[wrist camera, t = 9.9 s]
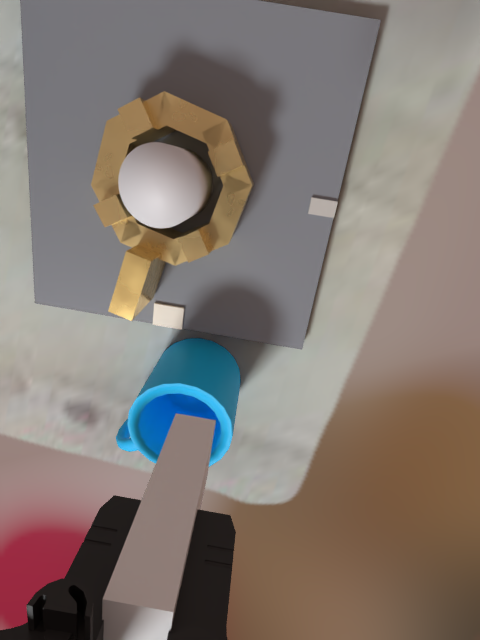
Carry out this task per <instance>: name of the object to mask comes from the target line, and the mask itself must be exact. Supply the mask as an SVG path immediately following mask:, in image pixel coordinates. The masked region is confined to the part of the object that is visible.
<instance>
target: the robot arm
mask: <svg viewBox="0 0 480 640" xmlns="http://www.w3.org/2000/svg"><path fill="white" fill-rule="evenodd" d="M215 424H216V420H211V419H206V418H200V417H194V416H189V415H183V414H177V413H176V414H175V417H174V419H173V422H172V424H171V427H170V429H169V432H168V435H167V437H166V440H165V442H164V445H163V447H162V450H161V452H160V455H159V457H158V460H157V462H156V465H155V468H154V470H153V473H152V475H151V478H150V480H149V483H148V485H147V488H146V490H145V493H144V496H143V498H142V500H136V499H131V498H125V497H120V496H113V497H112V498H111V499H110V500H109V501H108V502H106V503H105V504H104V505H103V506H102V507H101V508H100V510H99V511H98V513H97V516H96V517H95V520H94V522H93V524H92V526H91V528H90V529H89V531H88V533H87V535H86V537H85V540H84V542H83V543H82V545H81V547H80V549H79V551H78V553H77V555H76V557H75V559H74V561H73V563H72V565H71V567H70V569H69V571H68V573H67V575H66V576H65V578H64V579H60V580H57V581H54V582H51V583H49V584H47V585H46V586H44V587H43V588H42V589H40V590H39V591H38V592H37V593H36V594H35V595H34V596H33V597H32V599H31V600H30V601H29V603H28V604H27V615H28V622H27V623H26V624H24V625H21V626H18V627H14V628H11V629H6V630H0V640H227V636H226V623H227V622H226V621H227V613H228V603H229V593H230V583H231V572H232V562H233V551H234V543H235V533H236V532H235V529H234V526H233V522H232V519H231V516H230V515H225V514H220V513H214V512H209V511H203V510H200V508H201V503H202V498H203V493H204V489H205V484H206V480H207V474H208V468H209V462H210V455H211V449H212V443H213V436H214V430H215Z"/></svg>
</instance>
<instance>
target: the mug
mask: <svg viewBox="0 0 480 640" xmlns="http://www.w3.org/2000/svg"><path fill="white" fill-rule="evenodd" d="M240 382H241V380H240V370H239V367H238V365H237V363H236V361H235V359H234V357H233V356H232V355H231V354H230V353H229V352H228V351H227V350H226V349H225V348H224V347H222V346H220V345H219V344H217V343H215V342H213V341H210V340H206V339H202V338H191V339H184V340H181V341H179V342H176V343H174V344H173V345H171V346H170V347H169V348H168V349H166V350H165V351H164V353H163V354H162V356H161V358H160V359H159V361H158V363H157V365H156V366H155V368H154V370H153V371H152V373H151V375H150V376H149V378H148V380H147V381H146V383H145V385H144V386H143V388H142V390H141V391H140V393H139V395H138V397H137V398H136V400H135V402H134V403H133V405H132V407H131V408H130V410H129V416H128V419H127V420H126V421H125V422H124V424H123V425H122V426H121V428H120V429H119V431H118V434H117V436H116V440H117V444H118V446H119V447H120V448H121V449H122V450H126V451H129V452H131V451H136V450H139V451H140V452H141V453H142V454H143V455H144V456H145V457H146V458H148V459H149V460H150V461H152V462H154V463H156V462H157V460H158V457H159V455H160V452H161V450H162V447H163V445H164V442H165V440H166V437H167V435H168V432H169V429H170V427H171V424H172V422H173V419H174V417H175V414H176V413H177V414H183V415H189V416H194V417H200V418H206V419H211V420H216V424H215V430H214V436H213V443H212V449H211V455H210V462H209V467H210V466H211V465H213V464H214V463H216V462H217V461H219V460H220V459H221V458H222V457H223V456H224V454H225V453H226V452H227V450H228V449H229V447H230V443H231V439H232V436H233V429H234V423H235V416H236V409H237V402H238V395H239V388H240ZM129 437H130V438H129Z"/></svg>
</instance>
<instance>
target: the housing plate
mask: <svg viewBox="0 0 480 640" xmlns="http://www.w3.org/2000/svg"><path fill="white" fill-rule="evenodd" d="M20 4H21V24H22V45H23V66H24V86H25V107H26V128H27V148H28V169H29V190H30V210H31V231H32V252H33V272H34V293H35V303H37V304H43V305H49V306H54V307H60V308H66V309H72V310H77V311H83V312H89V313H95V314H100V315H106V316H112V317H118V318H123V317H121V316H118V315H116V314H113V313H111V312H108V310H109V306H110V303H111V300H112V296H113V293H114V290H115V286H116V283H117V280H118V276H119V273H120V270H121V266H122V263H123V259H124V256H125V253H126V251H127V250H129V249H131V248H132V247H129V246H127V245H125V244H122V243H120V241H119V239H118V237H117V235H116V233H115V231H114V229H113V227H112V225H111V226H108V227H104V225H103V223H102V221H101V219H100V218H99V216H98V214H97V212H96V210H95V208H94V206H93V205H95V204H97V203H99V200H98V198H97V196H96V194H95V192H94V190H93V188H92V186H91V182H92V178H93V174H94V170H95V166H96V162H97V158H98V154H99V150H100V146H101V142H102V137H103V133H104V129H105V125H106V121H107V120H109V119H111V118H113V117H115V116H117V115H119V112H118V108H120V107H122V106H124V105H126V104H128V103H130V102H132V101H134V100H136V99H138V98H139V97H140V98H142V99H143V100H145V101H146V100H148V99H150V98H152V97H154V96H156V95H158V94H160V93H162V92H164V91H165V92H167V93H170V94H172V95H174V96H176V97H178V98H181V99H183V100H185V101H187V102H189V103H192V104H194V105H196V106H198V107H200V108H203V109H205V110H207V111H209V112H211V113H214V114H216V115H218V116H220V117H222V118H225V119H227V120H228V121H229V122H230V124H231V125H232V127H233V130H234V133H235V135H236V138H237V141H238V143H239V146H240V148H241V151H242V154H243V156H244V159H245V162H246V164H247V167H248V170H249V172H250V175H251V178H252V180H253V183H254V185H253V188H252V190H251V193H250V195H249V198H248V200H247V203H246V205H245V208H244V210H243V212H242V215H241V217H240V220H239V222H238V225H237V227H236V230H235V232H234V235H233V237H232V239H231V241H230V242H229V244H228V245H225V246H223V247H220V248H218V249H215V250H213V251H211V252H210V254H209V255H206V256H204V257H201V258H199V259H196V260H194V261H191V262H189V263H188V261H186V262H183V263H181V264H178V265H176V266H175V265H172V264H170V263H168V262H166V263H165V266H164V269H163V272H162V275H161V278H160V280H159V283H158V286H157V289H156V292H155V295H154V298H153V299H152V300H151V301H150V302H149V303H148V304H147V305H146V306H145V307H144V308H143V309H142V311H141V312H140V313H139V314H138V315H137V316H136V317H135V318H134V319H133V320H135V321H141V322H147V323H152V324H153V325H157V326H163V327H169V328H174V329H180V330H182V329H187V330H193V331H198V332H204V333H210V334H216V335H222V336H227V337H233V338H239V339H245V340H250V341H256V342H262V343H268V344H273V345H279V346H285V347H291V348H297V349H302V347H303V343H304V339H305V335H306V331H307V326H308V322H309V318H310V314H311V310H312V306H313V301H314V297H315V293H316V289H317V285H318V280H319V276H320V272H321V268H322V264H323V260H324V255H325V251H326V247H327V243H328V239H329V235H330V230H331V226H332V222H333V218H334V216H335V212H336V208H337V204H338V202H337V201H338V197H339V193H340V189H341V184H342V180H343V176H344V172H345V168H346V164H347V159H348V155H349V151H350V147H351V143H352V139H353V134H354V130H355V126H356V122H357V118H358V113H359V109H360V105H361V101H362V97H363V93H364V88H365V84H366V80H367V76H368V72H369V68H370V63H371V59H372V55H373V51H374V47H375V43H376V38H377V34H378V30H379V26H380V22H381V20H378V19H372V18H366V17H359V16H353V15H347V14H341V13H335V12H328V11H322V10H316V9H310V8H303V7H297V6H291V5H285V4H278V3H272V2H266V1H260V0H20ZM208 151H209V148H208V146H207V143H205V142H202V141H200V140H198V139H196V138H193V137H191V136H189V135H187V134H184V133H182V132H180V131H178V130H176V131H174V132H172V133H170V134H168V135H166V136H164V137H162V138H160V139H158V140H156V141H154V142H150V143H145V144H143V145H140V146H138V147H136V148H135V149H134V150H132V151H131V152H130V153H129V154H128V155H127V157H126V158H125V159H124V161H123V163H122V165H121V168H120V172H119V178H118V186H119V192H120V196H121V199H122V201H123V203H124V205H125V207H126V208H127V210H128V211H129V212H130V214H131V215H132V216H133V217H134V218H136V219H137V220H138V221H140V222H141V223H143V224H145V225H147V226H150V227H154V228H169V227H170V228H172V229H174V230H177V231H179V232H181V233H184V232H186V231H188V230H191V229H193V228H196V227H198V226H200V225H203V224H205V223H207V222H210V220H211V217H212V215H213V212H214V209H215V207H216V204H217V201H218V199H219V196H220V193H221V191H222V188H223V183H222V180H221V178H220V177H217V174H216V172H215V169H214V167H213V164H212V162H211V159H210V157H209V154H208ZM124 319H126V318H124Z"/></svg>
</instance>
